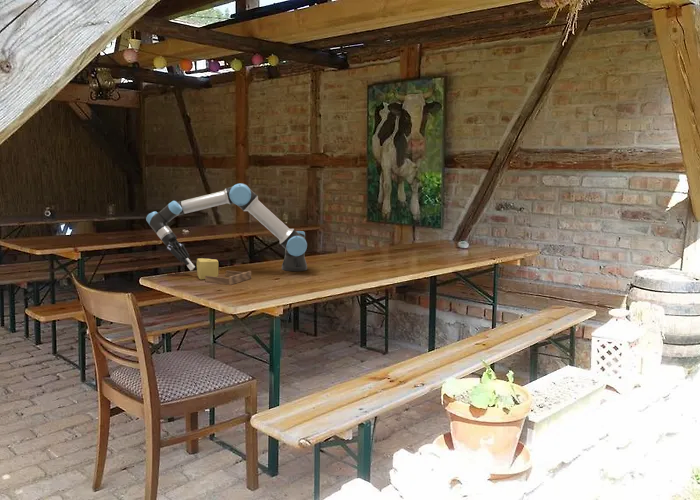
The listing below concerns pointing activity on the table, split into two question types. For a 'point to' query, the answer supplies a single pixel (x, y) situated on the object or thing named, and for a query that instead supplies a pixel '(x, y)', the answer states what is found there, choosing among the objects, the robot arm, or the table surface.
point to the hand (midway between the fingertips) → (192, 268)
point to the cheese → (207, 268)
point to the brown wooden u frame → (230, 277)
